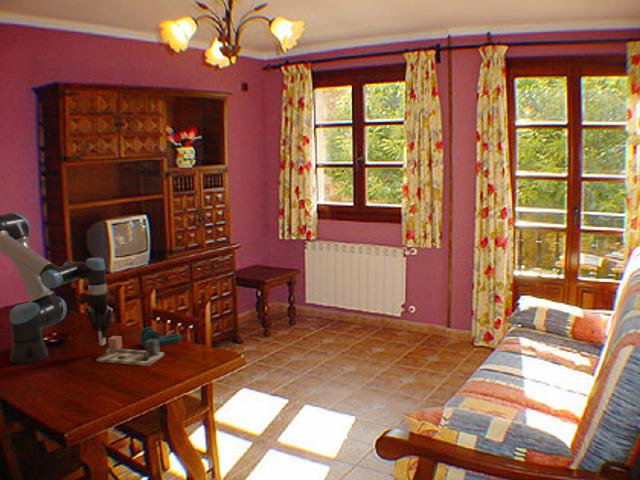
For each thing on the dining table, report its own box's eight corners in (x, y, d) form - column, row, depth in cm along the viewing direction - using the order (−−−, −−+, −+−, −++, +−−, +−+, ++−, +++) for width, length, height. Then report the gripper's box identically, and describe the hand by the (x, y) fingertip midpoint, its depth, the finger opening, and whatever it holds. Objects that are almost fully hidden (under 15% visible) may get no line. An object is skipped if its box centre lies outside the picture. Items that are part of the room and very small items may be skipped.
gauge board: (96, 361, 257) (95, 344, 256) (114, 350, 269) (112, 334, 268) (148, 366, 251) (147, 349, 249) (164, 355, 263) (163, 338, 262)
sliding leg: (102, 355, 259) (101, 342, 258) (114, 348, 268) (113, 335, 267) (110, 356, 258) (109, 343, 257) (122, 348, 267) (121, 336, 266)
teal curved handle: (145, 349, 271) (143, 332, 270) (141, 344, 277) (140, 328, 276) (183, 341, 281) (182, 325, 279) (179, 337, 286) (178, 321, 285)
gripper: (79, 294, 261) (84, 346, 265) (106, 295, 257) (110, 348, 261) (90, 290, 268) (95, 340, 272) (116, 291, 264) (120, 342, 269)
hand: (102, 344), depth 267 cm, fingers closed
